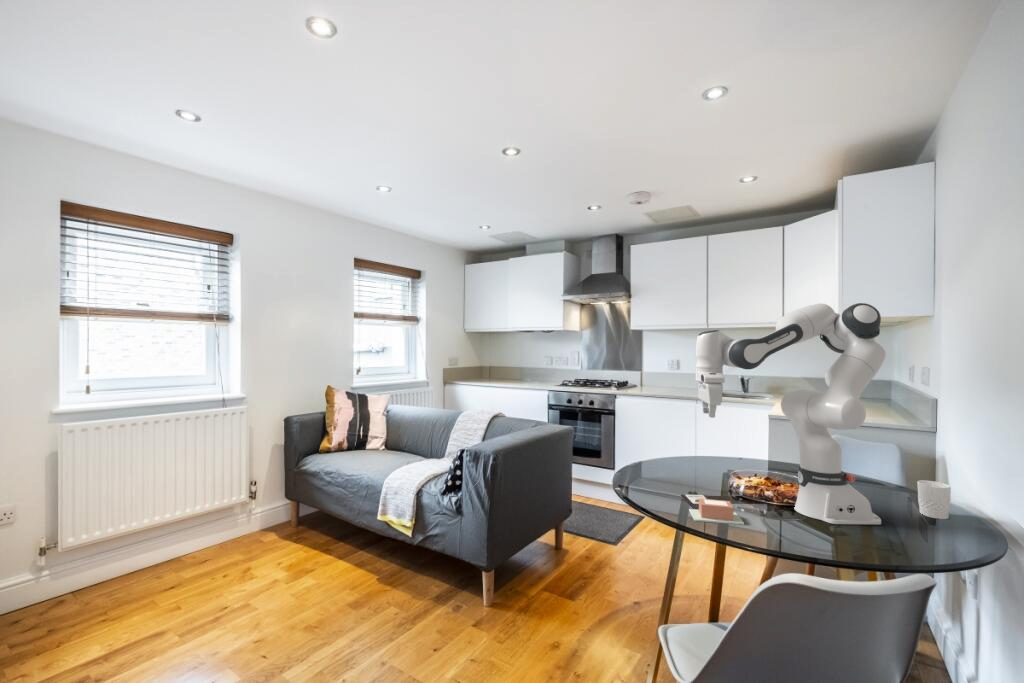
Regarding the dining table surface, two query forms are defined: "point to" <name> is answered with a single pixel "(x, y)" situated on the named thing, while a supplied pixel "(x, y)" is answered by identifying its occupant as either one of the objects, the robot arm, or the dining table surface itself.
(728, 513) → the deck
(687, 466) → the dining table surface
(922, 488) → the white cup
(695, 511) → the mat
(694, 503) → the chocolate bar
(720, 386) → the robot arm
